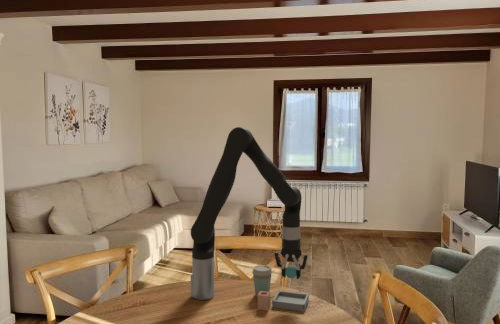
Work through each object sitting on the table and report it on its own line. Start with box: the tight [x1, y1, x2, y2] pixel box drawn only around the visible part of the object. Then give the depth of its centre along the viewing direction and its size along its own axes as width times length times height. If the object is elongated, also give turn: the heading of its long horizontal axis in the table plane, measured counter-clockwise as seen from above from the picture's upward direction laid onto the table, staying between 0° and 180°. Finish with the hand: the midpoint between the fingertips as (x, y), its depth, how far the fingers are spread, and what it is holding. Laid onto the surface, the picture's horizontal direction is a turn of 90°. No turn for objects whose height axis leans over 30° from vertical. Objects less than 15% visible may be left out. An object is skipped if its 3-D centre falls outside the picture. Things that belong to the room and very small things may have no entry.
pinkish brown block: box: [257, 291, 271, 312], centre depth 161 cm, size 4×4×6 cm
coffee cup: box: [252, 264, 273, 298], centre depth 174 cm, size 8×8×12 cm
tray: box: [271, 290, 310, 312], centre depth 165 cm, size 13×11×3 cm
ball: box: [285, 265, 297, 279], centre depth 165 cm, size 5×5×5 cm
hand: (291, 277), depth 165 cm, fingers closed on ball, 5 cm apart
